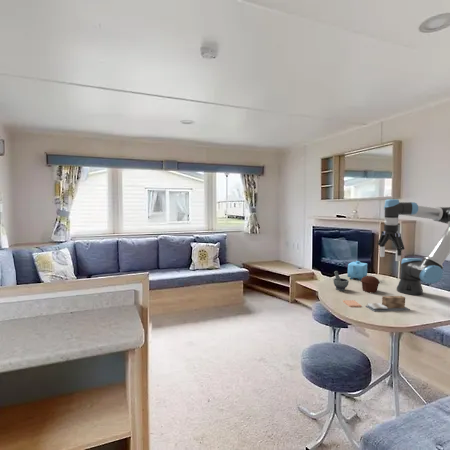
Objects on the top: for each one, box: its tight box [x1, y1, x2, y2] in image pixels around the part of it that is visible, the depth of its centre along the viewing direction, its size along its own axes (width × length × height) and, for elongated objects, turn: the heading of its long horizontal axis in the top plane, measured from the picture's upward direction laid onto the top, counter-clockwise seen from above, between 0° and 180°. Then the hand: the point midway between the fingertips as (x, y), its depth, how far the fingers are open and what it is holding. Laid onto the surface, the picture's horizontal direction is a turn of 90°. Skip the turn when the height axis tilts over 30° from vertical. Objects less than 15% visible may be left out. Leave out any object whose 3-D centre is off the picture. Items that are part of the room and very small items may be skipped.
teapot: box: [347, 260, 368, 281], centre depth 244 cm, size 22×11×14 cm, turn 142°
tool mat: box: [365, 305, 411, 312], centre depth 177 cm, size 22×8×1 cm, turn 98°
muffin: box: [360, 275, 381, 293], centre depth 211 cm, size 12×11×10 cm
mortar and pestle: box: [332, 270, 349, 292], centre depth 213 cm, size 11×9×12 cm
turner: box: [366, 295, 406, 309], centre depth 177 cm, size 20×7×6 cm, turn 98°
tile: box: [342, 299, 363, 308], centre depth 183 cm, size 1×9×7 cm
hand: (389, 258), depth 193 cm, fingers open, 13 cm apart
